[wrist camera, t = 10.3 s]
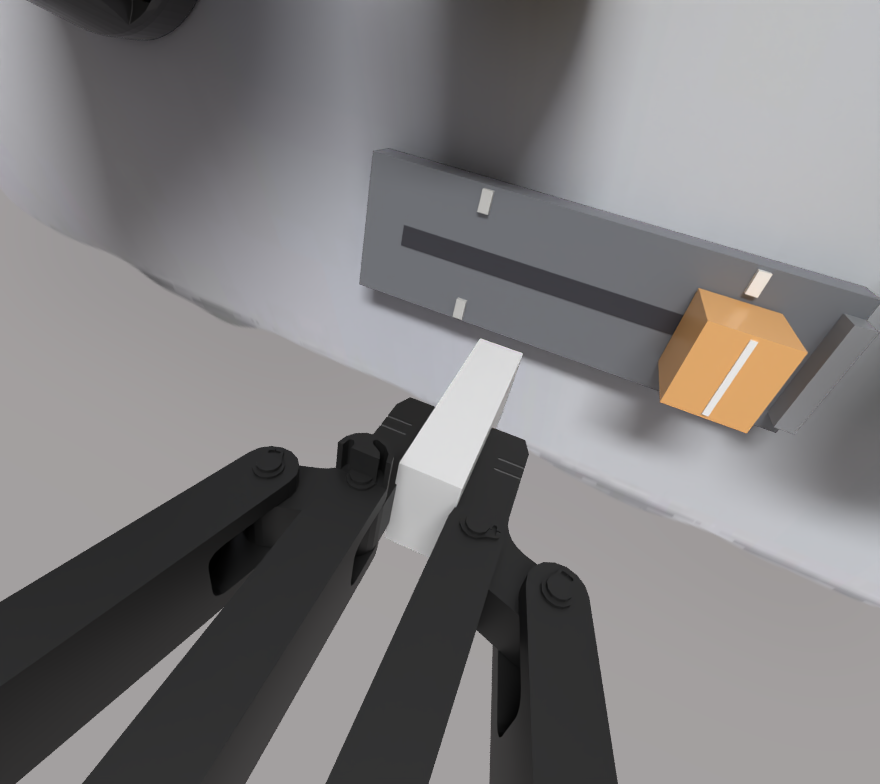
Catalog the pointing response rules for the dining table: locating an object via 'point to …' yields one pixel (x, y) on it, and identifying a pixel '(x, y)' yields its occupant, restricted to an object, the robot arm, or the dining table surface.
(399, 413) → the robot arm
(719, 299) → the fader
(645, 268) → the slide potentiometer
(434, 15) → the dining table surface
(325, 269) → the dining table surface
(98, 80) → the dining table surface
